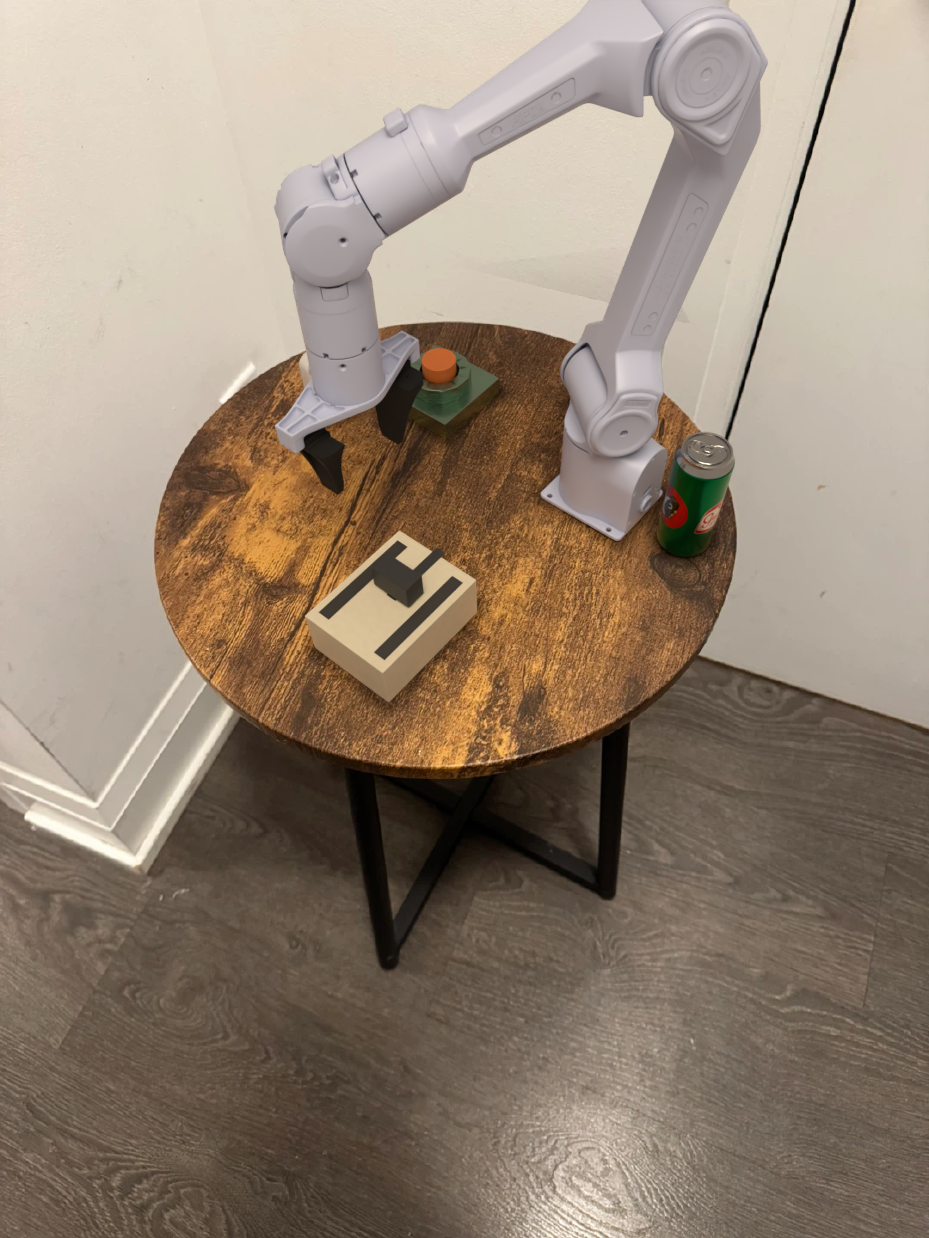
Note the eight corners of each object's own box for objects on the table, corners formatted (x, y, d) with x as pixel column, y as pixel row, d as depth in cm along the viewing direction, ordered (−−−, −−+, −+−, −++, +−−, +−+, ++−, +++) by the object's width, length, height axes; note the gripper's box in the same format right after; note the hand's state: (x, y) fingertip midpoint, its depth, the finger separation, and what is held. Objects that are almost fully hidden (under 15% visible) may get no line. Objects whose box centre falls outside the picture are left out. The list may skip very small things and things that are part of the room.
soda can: (697, 568, 83) (725, 479, 73) (647, 547, 85) (667, 458, 75) (717, 531, 86) (746, 440, 76) (667, 512, 87) (690, 421, 77)
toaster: (481, 608, 81) (480, 575, 77) (388, 703, 76) (382, 672, 72) (407, 560, 85) (403, 526, 81) (314, 647, 79) (304, 615, 75)
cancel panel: (499, 393, 97) (499, 364, 94) (446, 440, 94) (444, 411, 90) (436, 360, 101) (434, 331, 97) (383, 403, 97) (379, 374, 94)
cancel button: (463, 370, 94) (463, 357, 93) (441, 388, 93) (440, 375, 91) (437, 356, 96) (436, 343, 94) (415, 374, 94) (414, 361, 93)
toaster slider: (424, 593, 76) (422, 575, 74) (408, 608, 75) (406, 590, 73) (389, 570, 78) (386, 552, 75) (373, 584, 77) (370, 566, 75)
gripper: (369, 269, 72) (386, 398, 83) (234, 363, 66) (272, 488, 77) (434, 303, 69) (443, 432, 81) (300, 404, 63) (329, 528, 75)
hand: (363, 462), depth 79 cm, fingers open, 7 cm apart
